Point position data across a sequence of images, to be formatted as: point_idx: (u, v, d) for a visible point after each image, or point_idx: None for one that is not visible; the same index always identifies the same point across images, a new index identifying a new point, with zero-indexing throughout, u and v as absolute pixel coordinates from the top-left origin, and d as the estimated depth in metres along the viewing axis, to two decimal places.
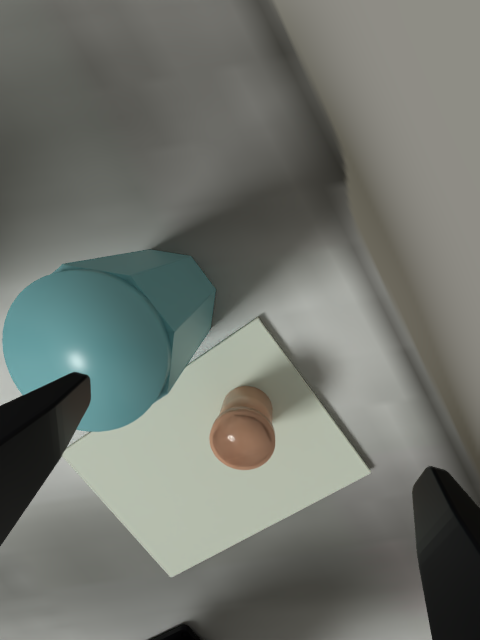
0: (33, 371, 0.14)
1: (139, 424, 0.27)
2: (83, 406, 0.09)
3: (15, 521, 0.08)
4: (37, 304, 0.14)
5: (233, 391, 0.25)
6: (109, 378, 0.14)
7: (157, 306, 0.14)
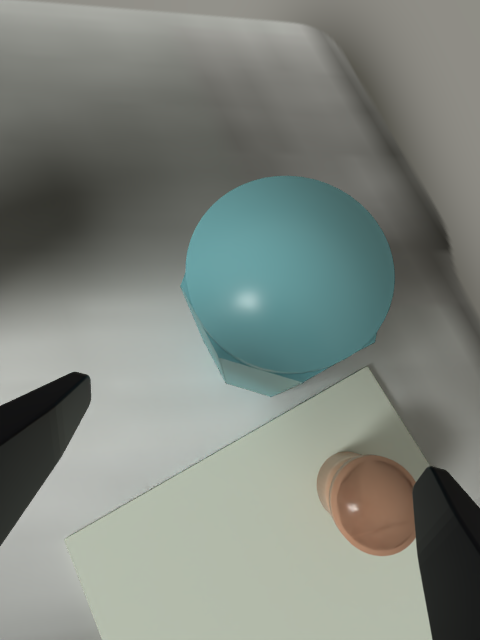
0: (219, 278, 0.11)
1: (198, 497, 0.19)
2: (83, 406, 0.09)
3: (15, 521, 0.08)
4: (249, 203, 0.12)
5: (337, 454, 0.20)
6: (319, 297, 0.11)
7: None
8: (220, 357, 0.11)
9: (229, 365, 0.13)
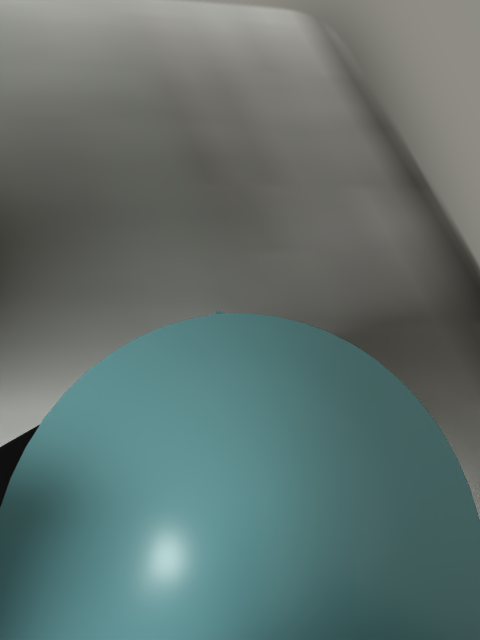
0: (68, 591, 0.05)
1: None
2: None
3: None
4: (153, 383, 0.05)
5: None
6: None
7: None
8: None
9: None
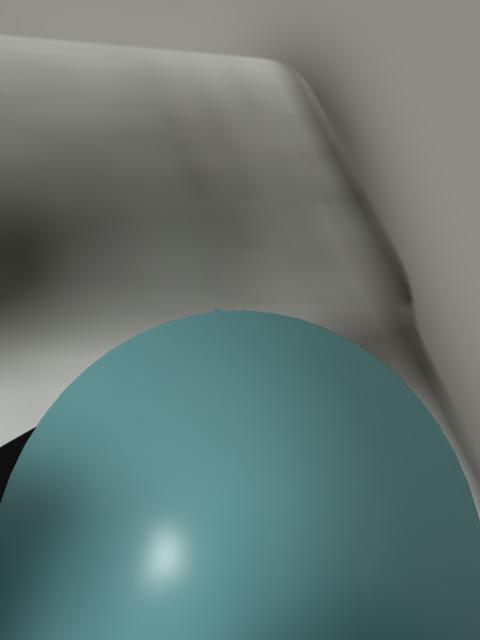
0: (67, 587, 0.05)
1: None
2: None
3: None
4: (152, 380, 0.05)
5: None
6: (308, 637, 0.05)
7: None
8: None
9: None
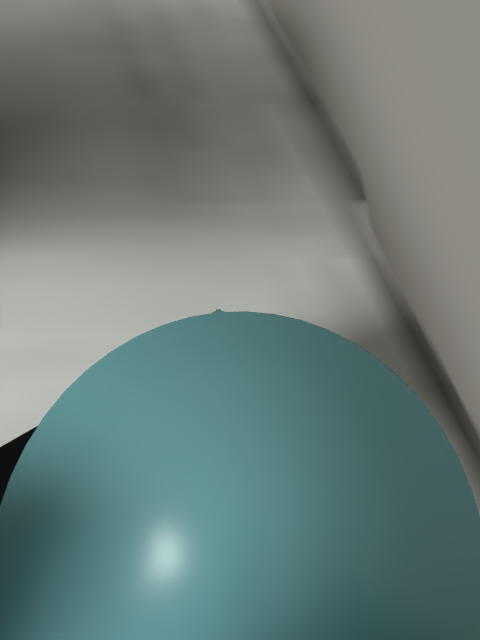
0: (67, 589, 0.05)
1: None
2: None
3: None
4: (153, 381, 0.05)
5: None
6: None
7: None
8: None
9: None
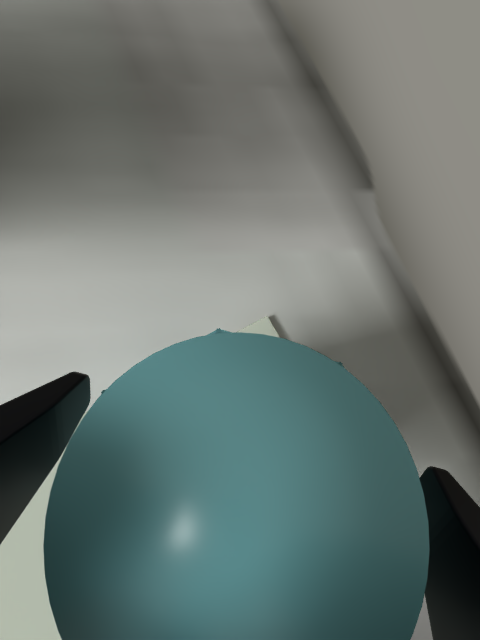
0: (106, 550, 0.06)
1: None
2: (82, 406, 0.09)
3: (14, 521, 0.08)
4: (167, 389, 0.07)
5: None
6: (291, 585, 0.06)
7: None
8: None
9: None
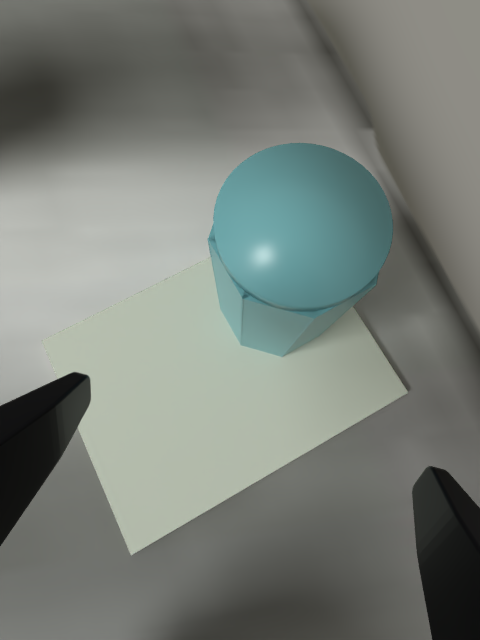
0: (242, 230, 0.13)
1: (151, 311, 0.24)
2: (83, 406, 0.09)
3: (15, 521, 0.08)
4: (266, 167, 0.14)
5: None
6: (328, 244, 0.13)
7: None
8: (243, 298, 0.13)
9: (250, 309, 0.15)
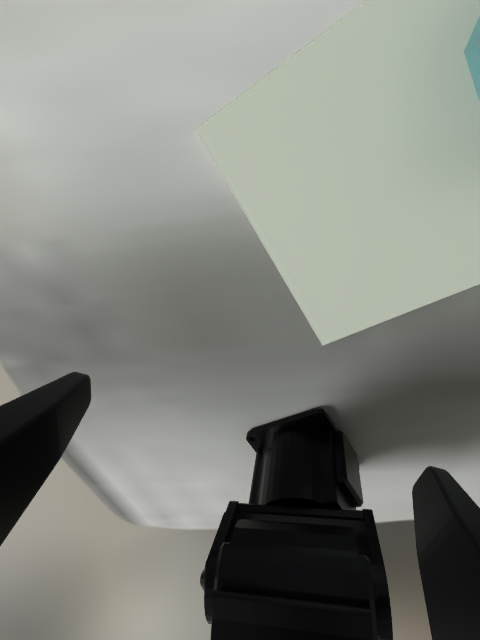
0: None
1: (346, 66, 0.15)
2: (83, 406, 0.09)
3: (15, 521, 0.08)
4: None
5: None
6: None
7: None
8: None
9: None
